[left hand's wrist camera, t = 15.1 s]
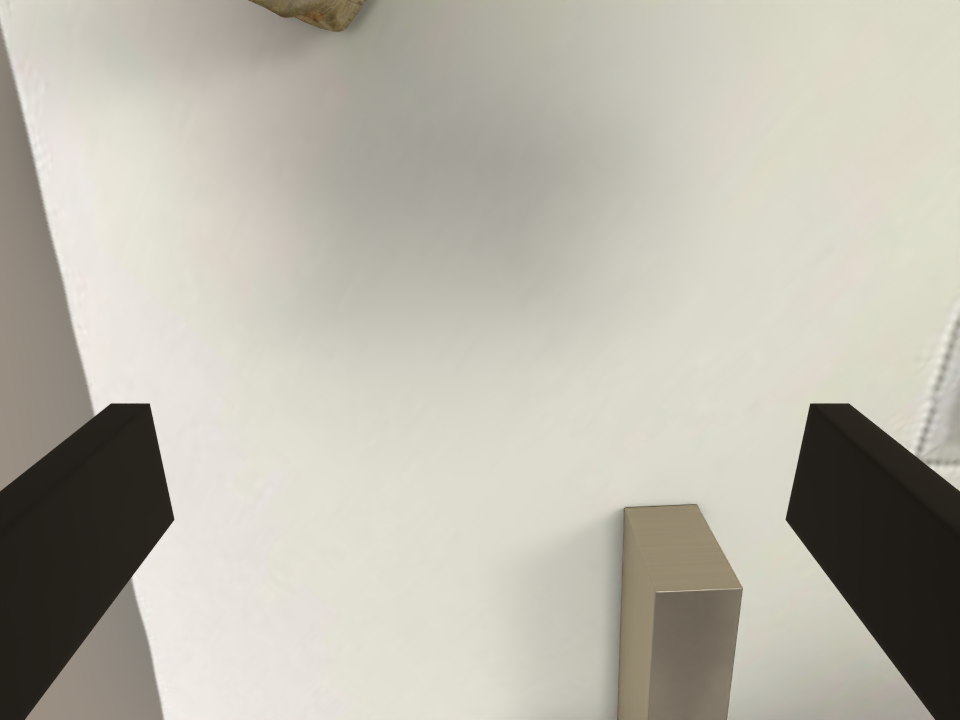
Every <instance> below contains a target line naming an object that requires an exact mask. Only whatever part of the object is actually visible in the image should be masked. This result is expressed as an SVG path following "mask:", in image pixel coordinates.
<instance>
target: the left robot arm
mask: <svg viewBox="0 0 960 720" xmlns="http://www.w3.org/2000/svg"><path fill="white" fill-rule="evenodd" d="M173 521H174V515H173V511H172V506H171V501H170V497H169V492H168V487H167V483H166V478H165V473H164V468H163V464H162V459H161V454H160V450H159V445H158V440H157V436H156V431H155V426H154V422H153V417H152V412H151V407H150V404H110V405H109V406H107V407H106V408H105V409H104V410H102V411H101V412H100V413H99V414H97V415H96V416H95V417H94V418H92V419H91V420H90V421H88V422H87V423H86V424H85V425H83V426H82V427H81V428H80V429H78V430H77V431H76V432H75V433H73V434H72V435H71V436H70V437H68V438H67V439H66V440H65V441H63V442H62V443H61V444H59V445H58V446H57V447H56V448H54V449H53V450H52V451H51V452H49V453H48V454H47V455H46V456H44V457H43V458H42V459H41V460H39V461H38V462H37V463H36V464H34V465H33V466H32V467H30V468H29V469H28V470H27V471H25V472H24V473H23V474H22V475H20V476H19V477H18V478H17V479H15V480H14V481H13V482H12V483H10V484H9V485H8V486H6V487H5V488H4V489H3V490H1V491H0V720H25V719H26V717H27V716H28V715H29V713H30V712H31V711H32V709H33V708H34V707H35V705H36V704H37V703H38V701H39V700H40V699H41V697H42V696H43V695H44V693H45V692H46V691H47V689H48V688H49V687H50V685H51V684H52V683H53V681H54V680H55V679H56V677H57V676H58V675H59V673H60V672H61V671H62V669H63V668H64V667H65V665H66V664H67V663H68V661H69V660H70V659H71V657H72V656H73V655H74V653H75V652H76V651H77V649H78V648H79V647H80V645H81V644H82V643H83V641H84V640H85V639H86V637H87V636H88V634H89V633H90V632H91V631H92V629H93V628H94V627H95V625H96V624H97V622H98V621H99V620H100V618H101V617H102V616H103V614H104V613H105V612H106V610H107V609H108V608H109V606H110V605H111V604H112V602H113V601H114V600H115V598H116V597H117V596H118V594H119V593H120V592H121V590H122V589H123V588H124V586H125V585H126V584H127V582H128V581H129V580H130V578H131V577H132V576H133V574H134V573H135V572H136V570H137V569H138V568H139V566H140V565H141V564H142V562H143V561H144V560H145V558H146V557H147V556H148V554H149V553H150V552H151V550H152V549H153V548H154V546H155V545H156V544H157V542H158V541H159V540H160V538H161V537H162V536H163V534H164V533H165V532H166V530H167V529H168V528H169V526H170V525H171V524H172V522H173ZM786 521H787V522H788V524H789V525H790V526H791V528H792V529H793V530H794V532H795V533H796V534H797V536H798V537H799V538H800V540H801V541H802V542H803V544H804V545H805V546H806V548H807V549H808V550H809V552H810V553H811V554H812V556H813V557H814V558H815V560H816V561H817V562H818V564H819V565H820V566H821V568H822V569H823V570H824V572H825V573H826V574H827V576H828V577H829V578H830V580H831V581H832V582H833V584H834V585H835V586H836V588H837V589H838V590H839V592H840V593H841V594H842V596H843V597H844V598H845V600H846V601H847V602H848V604H849V605H850V606H851V608H852V609H853V610H854V612H855V613H856V614H857V616H858V617H859V618H860V620H861V621H862V622H863V624H864V625H865V627H866V628H867V629H868V631H869V632H870V633H871V635H872V636H873V637H874V639H875V640H876V641H877V643H878V644H879V645H880V647H881V648H882V649H883V651H884V652H885V653H886V655H887V656H888V657H889V659H890V660H891V661H892V663H893V664H894V665H895V667H896V668H897V669H898V671H899V672H900V673H901V675H902V676H903V677H904V679H905V680H906V681H907V683H908V684H909V685H910V687H911V688H912V689H913V691H914V692H915V693H916V695H917V696H918V697H919V699H920V700H921V701H922V703H923V704H924V705H925V707H926V708H927V709H928V711H929V712H930V713H931V715H932V716H933V717H934V719H935V720H960V491H959V490H957V489H956V488H955V487H954V486H952V485H951V484H950V483H948V482H947V481H946V480H945V479H943V478H942V477H941V476H940V475H938V474H937V473H936V472H935V471H933V470H932V469H931V468H930V467H928V466H927V465H926V464H925V463H923V462H922V461H921V460H919V459H918V458H917V457H916V456H914V455H913V454H912V453H911V452H909V451H908V450H907V449H906V448H904V447H903V446H902V445H901V444H899V443H898V442H897V441H896V440H894V439H893V438H892V437H890V436H889V435H888V434H887V433H885V432H884V431H883V430H882V429H880V428H879V427H878V426H877V425H875V424H874V423H873V422H872V421H870V420H869V419H868V418H866V417H865V416H864V415H863V414H861V413H860V412H859V411H858V410H856V409H855V408H854V407H853V406H851V405H850V404H810V407H809V412H808V417H807V421H806V426H805V431H804V436H803V440H802V445H801V450H800V454H799V459H798V464H797V468H796V473H795V478H794V483H793V487H792V492H791V497H790V501H789V506H788V511H787V515H786Z"/></svg>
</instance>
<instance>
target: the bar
mask: <svg viewBox="0 0 960 720" xmlns="http://www.w3.org/2000/svg"><path fill="white" fill-rule="evenodd" d="M742 590H743V588H742V586H741V584H740V582H739V580H738V578H737V577H736V575H735V573H734V571H733V569H732V567H731V566H730V564H729V562H728V560H727V558H726V557H725V555H724V553H723V551H722V549H721V547H720V546H719V544H718V542H717V540H716V538H715V537H714V535H713V533H712V531H711V529H710V527H709V526H708V524H707V522H706V520H705V518H704V517H703V515H702V513H701V511H700V509H699V507H698V506H697V505H675V506H654V507H632V508H625V513H624V543H623V573H622V603H621V633H620V663H619V693H618V720H727V713H728V705H729V697H730V689H731V680H732V672H733V664H734V656H735V647H736V639H737V631H738V623H739V615H740V606H741V598H742Z"/></svg>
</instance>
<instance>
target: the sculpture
mask: <svg viewBox="0 0 960 720" xmlns="http://www.w3.org/2000/svg"><path fill="white" fill-rule="evenodd" d="M249 1H251V2H254V3H256V4H258V5H260V6H262V7H265V8H267V9H269V10H270V11H272V12H274V13H276V14H278V15H279V16H281V17H285V18H287V17H296V18H298V19H300V20H302V21H304V22H306V23H309V24H311V25H314V26H316V27H319V28H322V29H326V30H330V31H335V32H341V31H343V30H344V29H345V28H346V27H347V26H348V25H349V24H350V22H351V21H352V20H353V18H354V17H355V15H356V14H357V12H358V11H359V9H360V8H361V6H362V5H363V3H364V2H365V0H249Z"/></svg>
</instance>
